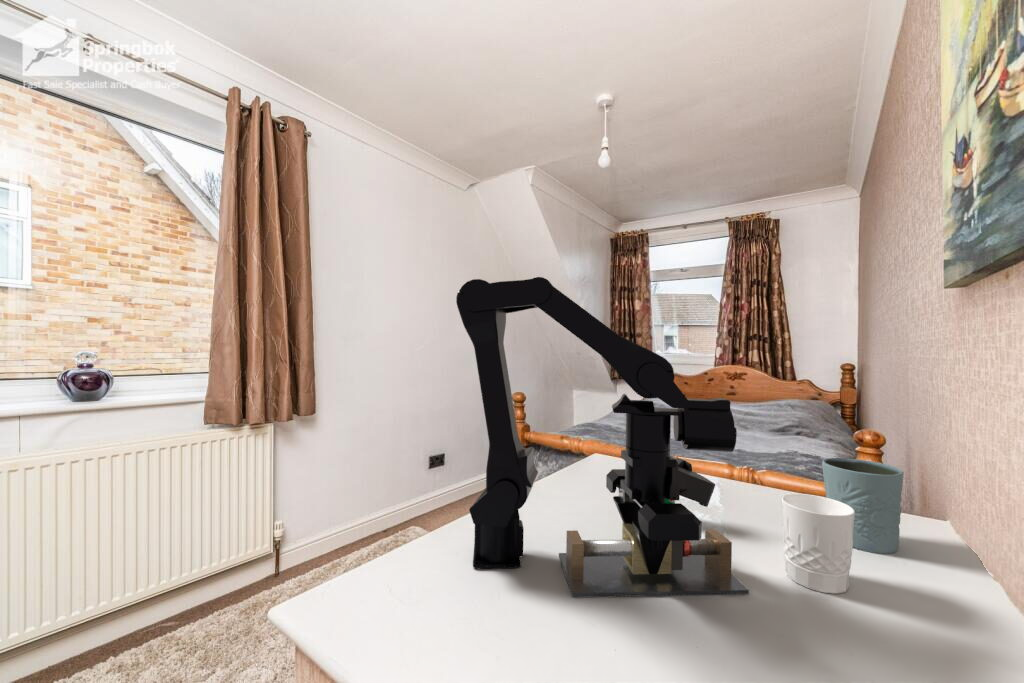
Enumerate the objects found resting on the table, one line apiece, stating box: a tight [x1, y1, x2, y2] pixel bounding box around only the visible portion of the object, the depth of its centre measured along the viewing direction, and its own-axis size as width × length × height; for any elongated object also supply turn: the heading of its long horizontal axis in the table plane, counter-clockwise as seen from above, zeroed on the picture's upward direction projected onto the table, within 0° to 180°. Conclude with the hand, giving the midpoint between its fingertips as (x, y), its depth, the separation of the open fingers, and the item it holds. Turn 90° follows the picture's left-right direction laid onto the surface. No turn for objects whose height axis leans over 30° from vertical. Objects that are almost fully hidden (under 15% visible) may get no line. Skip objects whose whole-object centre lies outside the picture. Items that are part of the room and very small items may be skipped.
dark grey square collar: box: [671, 541, 683, 570], centre depth 58 cm, size 2×4×4 cm, turn 3°
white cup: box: [781, 493, 855, 595], centre depth 57 cm, size 8×8×10 cm
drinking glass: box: [821, 457, 904, 555], centre depth 69 cm, size 10×10×12 cm
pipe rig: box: [558, 528, 750, 598], centre depth 58 cm, size 22×10×5 cm, turn 93°
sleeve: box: [621, 522, 672, 574], centre depth 58 cm, size 5×5×5 cm
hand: (645, 563), depth 58 cm, fingers closed on sleeve, 5 cm apart
